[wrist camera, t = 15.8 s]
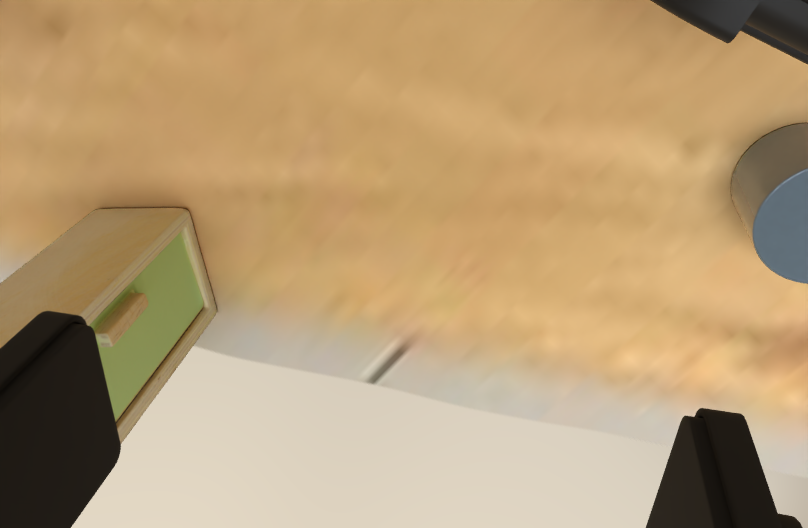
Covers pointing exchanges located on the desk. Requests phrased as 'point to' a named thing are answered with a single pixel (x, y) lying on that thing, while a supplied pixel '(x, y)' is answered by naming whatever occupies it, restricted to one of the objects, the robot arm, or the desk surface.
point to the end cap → (749, 21)
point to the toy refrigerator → (121, 297)
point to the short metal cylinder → (776, 199)
